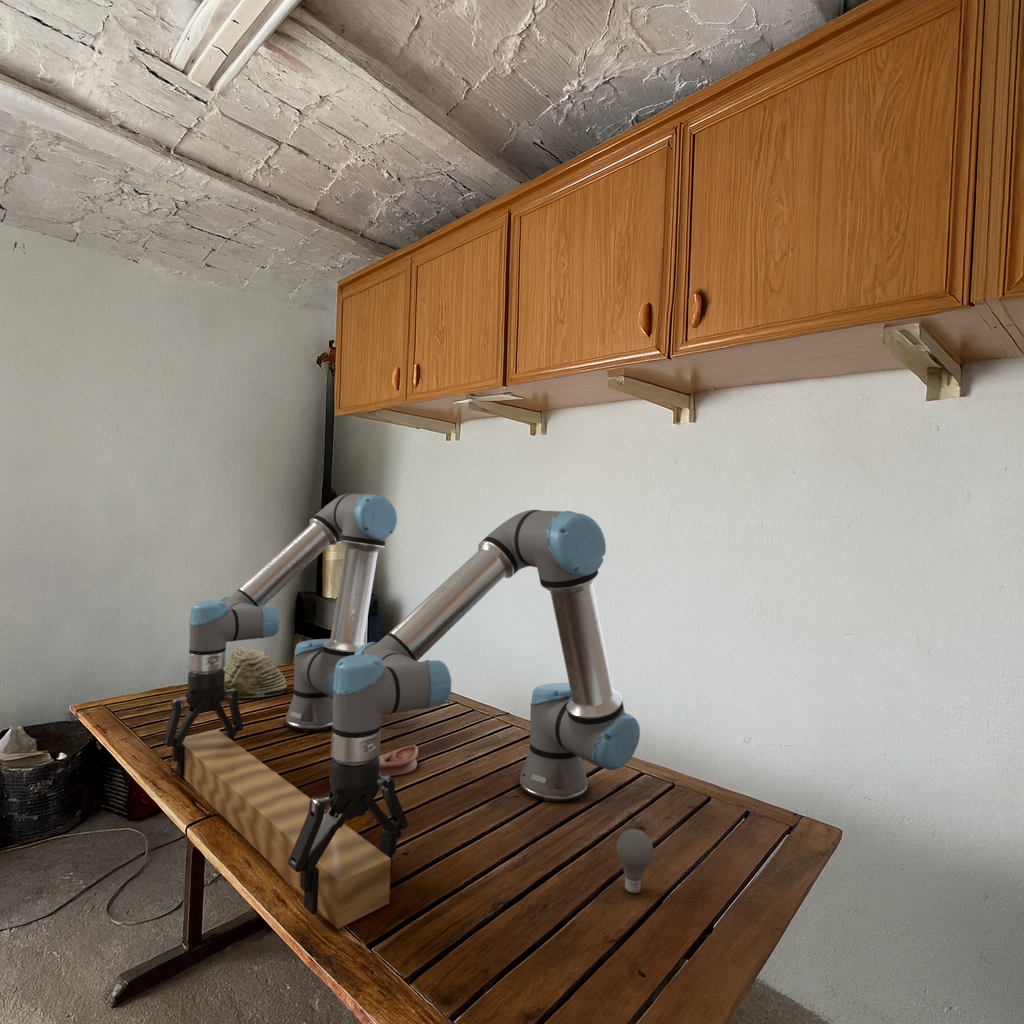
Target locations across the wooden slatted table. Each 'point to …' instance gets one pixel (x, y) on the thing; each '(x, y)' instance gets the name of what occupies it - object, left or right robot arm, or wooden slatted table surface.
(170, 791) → the wooden slatted table surface
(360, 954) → the wooden slatted table surface
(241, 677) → the fossil
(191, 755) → the long beam
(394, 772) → the anatomical model
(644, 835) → the light bulb
